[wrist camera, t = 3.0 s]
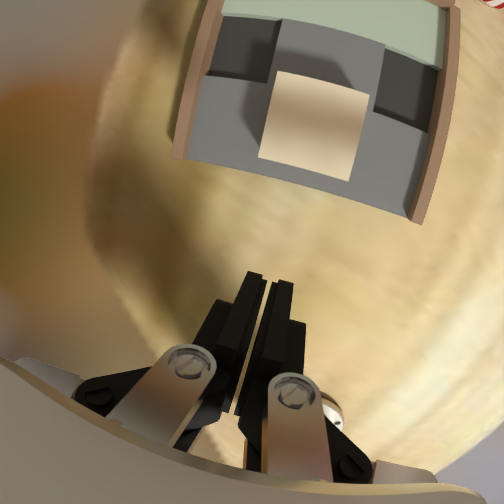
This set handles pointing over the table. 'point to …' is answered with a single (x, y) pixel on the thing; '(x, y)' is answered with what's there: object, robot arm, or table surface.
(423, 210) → the box
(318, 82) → the birch block
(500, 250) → the table surface
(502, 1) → the soda can
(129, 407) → the robot arm
